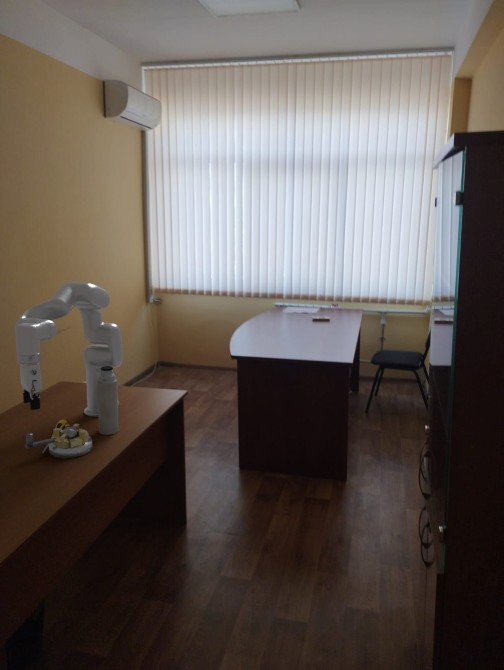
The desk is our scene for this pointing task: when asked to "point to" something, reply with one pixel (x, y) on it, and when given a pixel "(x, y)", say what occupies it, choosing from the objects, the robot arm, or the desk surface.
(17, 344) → the robot arm
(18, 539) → the desk surface
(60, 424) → the screwdriver
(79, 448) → the plate with blocky chunks
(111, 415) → the thermos bottle
